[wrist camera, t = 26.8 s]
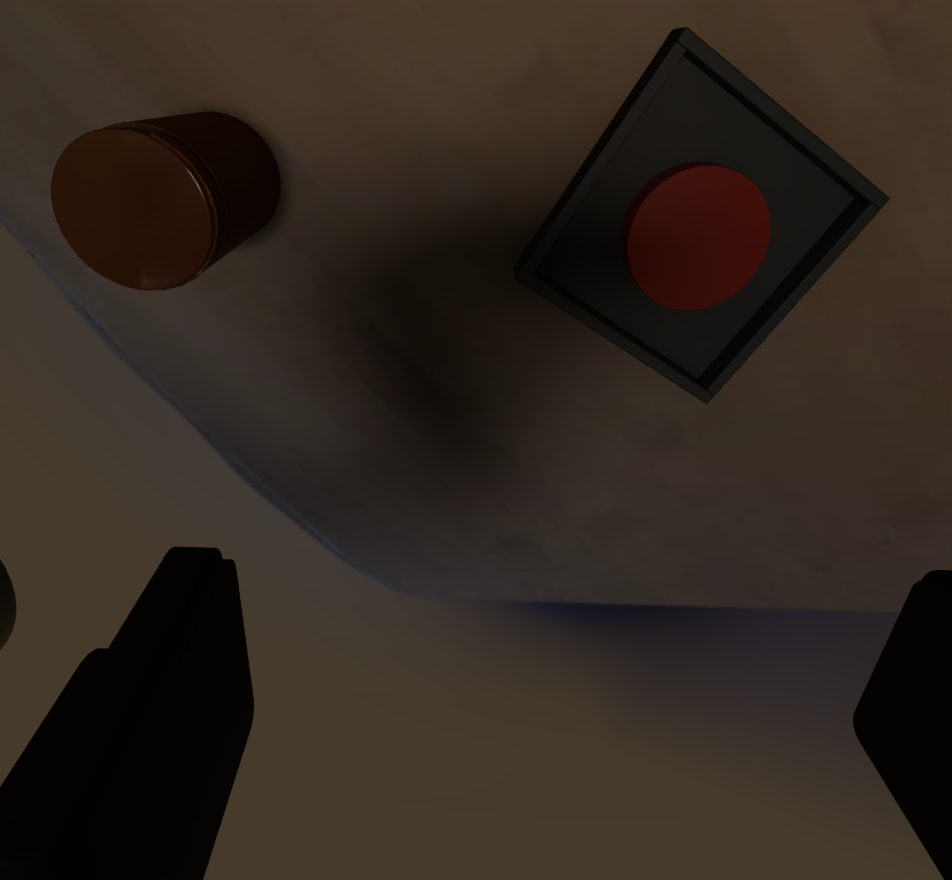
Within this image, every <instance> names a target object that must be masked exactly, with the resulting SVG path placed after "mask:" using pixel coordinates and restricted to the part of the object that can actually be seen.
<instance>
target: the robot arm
mask: <svg viewBox="0 0 952 880" xmlns="http://www.w3.org/2000/svg"><path fill="white" fill-rule="evenodd" d="M253 714H254V697H253V691H252V683H251V675H250V668H249V660H248V653H247V646H246V638H245V630H244V623H243V615H242V608H241V600H240V593H239V585H238V578H237V571H236V566H235V562H234V561H233V560H231V559H222V554H221V552H220V550H219V549H217V548H203V547H173V548H171V549H170V550H169V551H168V552H167V553H166V555H165V557H164V558H163V560H162V562H161V563H160V565H159V566H158V568H157V570H156V572H155V573H154V575H153V576H152V578H151V579H150V581H149V583H148V584H147V586H146V588H145V589H144V591H143V593H142V594H141V596H140V597H139V599H138V601H137V602H136V604H135V605H134V607H133V609H132V610H131V612H130V614H129V615H128V617H127V619H126V620H125V622H124V623H123V625H122V627H121V628H120V630H119V632H118V633H117V635H116V636H115V638H114V640H113V641H112V643H111V645H110V646H109V648H108V649H107V648H105V649H104V648H102V649H101V648H98V649H95V650H93V651H92V652H90V653H89V654H88V655H87V656H86V657H85V658H84V660H83V661H82V662H81V663H80V665H79V666H78V668H77V669H76V671H75V672H74V674H73V675H72V677H71V678H70V680H69V682H68V683H67V685H66V686H65V688H64V689H63V691H62V693H61V694H60V695H59V697H58V699H57V700H56V702H55V703H54V705H53V706H52V708H51V709H50V711H49V712H48V714H47V716H46V717H45V719H44V720H43V722H42V723H41V725H40V726H39V728H38V729H37V731H36V732H35V734H34V736H33V737H32V739H31V740H30V742H29V743H28V745H27V746H26V748H25V750H24V751H23V753H22V754H21V756H20V757H19V759H18V760H17V762H16V763H15V765H14V766H13V768H12V770H11V771H10V773H9V774H8V776H7V777H6V779H5V780H4V782H3V784H2V785H1V787H0V880H203V878H204V875H205V872H206V869H207V866H208V862H209V859H210V856H211V853H212V850H213V847H214V844H215V840H216V837H217V834H218V831H219V828H220V825H221V822H222V818H223V815H224V812H225V809H226V806H227V803H228V799H229V796H230V793H231V790H232V787H233V784H234V780H235V777H236V774H237V771H238V768H239V765H240V761H241V758H242V755H243V752H244V749H245V746H246V743H247V739H248V736H249V733H250V730H251V726H252V721H253ZM853 723H854V730H855V733H856V736H857V738H858V740H859V742H860V743H861V745H862V747H863V748H864V750H865V752H866V753H867V755H868V756H869V758H870V760H871V761H872V763H873V765H874V766H875V768H876V769H877V771H878V773H879V774H880V776H881V778H882V779H883V781H884V782H885V784H886V786H887V787H888V789H889V791H890V792H891V794H892V795H893V797H894V798H895V800H896V802H897V804H898V805H899V807H900V808H901V810H902V812H903V813H904V815H905V817H906V818H907V820H908V821H909V823H910V825H911V826H912V828H913V829H914V831H915V833H916V834H917V836H918V838H919V839H920V841H921V843H922V844H923V846H924V847H925V849H926V851H927V852H928V854H929V856H930V857H931V859H932V860H933V862H934V864H935V865H936V867H937V869H938V870H939V872H940V873H941V875H942V877H943V878H944V880H952V570H935V571H930V572H929V573H927V574H926V575H925V576H924V577H923V579H922V580H921V581H918V582H916V583H915V584H914V585H913V587H912V588H911V591H910V593H909V595H908V597H907V599H906V601H905V604H904V606H903V608H902V610H901V612H900V614H899V617H898V619H897V621H896V623H895V625H894V628H893V630H892V632H891V634H890V636H889V638H888V640H887V643H886V645H885V647H884V649H883V651H882V653H881V655H880V658H879V660H878V662H877V664H876V667H875V668H874V671H873V673H872V675H871V677H870V679H869V681H868V684H867V686H866V688H865V690H864V692H863V695H862V697H861V699H860V701H859V703H858V705H857V707H856V710H855V713H854V718H853Z"/></svg>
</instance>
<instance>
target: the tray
mask: <svg viewBox="0 0 952 880" xmlns="http://www.w3.org/2000/svg"><path fill="white" fill-rule="evenodd" d="M689 162H711V163H715V164H719V165H722V166H725V167H728V168H731V169H733V170H735V171H738V172H740V173H742V174H745V175H747V178H749V179H750V180H751V181H752V182H753V183H754V184H755V185H756V186H757V188H758V189H759V190H760V192H761V193H762V195H763V197H764V199H765V201H766V204H767V207H768V211H769V215H770V237H769V243H768V247H767V250H766V253H765V256H764V258H763V260H762V262H761V264H760V266H759V268H758V269H757V271H756V272H755V274H754V275H753V276H752V278H751V279H750V280H749V281H748V282H747V283H746V284H745V286H744V287H742V288H741V289H740V290H739V291H738V292H737V293H735V294H734V295H732V296H731V297H729V298H728V299H726V300H724V301H722V302H720V303H718V304H716V305H713V306H710V307H707V308H703V309H697V310H679V309H673V308H669V307H666V306H664V305H661V304H659V303H657V302H656V301H654V300H652V299H651V298H650V297H648V296H647V295H646V294H645V293H644V292H643V291H642V290H641V289H640V287H639V286H638V285H637V284H636V282H635V281H634V280H633V278H632V277H631V276H630V274H629V272H628V270H627V268H626V266H625V263H624V260H623V257H622V251H621V232H622V227H623V222H624V219H625V216H626V213H627V211H628V209H629V207H630V205H631V203H632V202H633V200H634V199H635V197H636V196H637V194H638V193H639V192H640V191H641V189H642V188H643V187H644V186H645V185H646V184H647V183H648V182H649V181H651V180H652V179H653V178H654V177H656V176H657V175H659V174H660V173H662V172H664V171H665V170H667V169H669V168H672V167H674V166H677V165H680V164H684V163H689ZM889 199H890V198H889V197H888V196H887V195H886V194H884V193H883V192H882V191H881V190H880V189H878V188H877V187H876V186H875V185H874V184H873V183H871V182H870V181H869V180H868V179H867V178H865V177H864V176H863V175H862V174H861V173H860V172H858V171H857V170H856V169H855V168H854V167H852V166H851V165H850V164H849V163H848V162H846V161H845V160H844V159H843V158H842V157H841V156H839V155H838V154H837V153H836V152H835V151H833V150H832V149H831V148H830V147H829V146H827V145H826V144H825V143H824V142H823V141H822V140H820V139H819V138H818V137H817V136H816V135H814V134H813V133H812V132H811V131H810V130H809V129H807V128H806V127H805V126H804V125H803V124H801V123H800V122H799V121H798V120H797V119H795V118H794V117H793V116H792V115H791V114H790V113H788V112H787V111H786V110H785V109H784V108H782V107H781V106H780V105H779V104H778V103H776V102H775V101H774V100H773V99H772V98H771V97H769V96H768V95H767V94H766V93H765V92H763V91H762V90H761V89H760V88H759V87H758V86H756V85H755V84H754V83H753V82H752V81H750V80H749V79H748V78H747V77H746V76H744V75H743V74H742V73H741V72H740V71H739V70H737V69H736V68H735V67H734V66H733V65H731V64H730V63H729V62H728V61H727V60H726V59H724V58H723V57H722V56H721V55H720V54H718V53H717V52H716V51H715V50H714V49H712V48H711V47H710V46H709V45H708V44H707V43H705V42H704V41H703V40H702V39H701V38H699V37H698V36H697V35H696V34H695V33H693V32H692V31H691V30H690V29H689V28H688V27H684V28H679V29H674V30H672V32H671V33H670V35H669V36H668V38H667V39H666V41H665V42H664V44H663V45H662V47H661V48H660V50H659V51H658V53H657V54H656V56H655V57H654V59H653V60H652V62H651V63H650V65H649V66H648V68H647V69H646V71H645V72H644V74H643V75H642V77H641V78H640V80H639V81H638V83H637V84H636V86H635V87H634V89H633V90H632V92H631V93H630V94H629V96H628V97H627V99H626V100H625V102H624V103H623V105H622V106H621V108H620V109H619V111H618V112H617V114H616V115H615V117H614V118H613V120H612V121H611V123H610V124H609V126H608V127H607V129H606V130H605V132H604V133H603V135H602V136H601V138H600V139H599V141H598V142H597V144H596V145H595V147H594V148H593V150H592V151H591V153H590V154H589V156H588V157H587V159H586V160H585V162H584V163H583V164H582V166H581V167H580V169H579V170H578V172H577V173H576V175H575V176H574V178H573V179H572V181H571V182H570V184H569V185H568V187H567V188H566V190H565V191H564V193H563V194H562V196H561V197H560V199H559V200H558V202H557V203H556V205H555V206H554V208H553V209H552V211H551V212H550V214H549V215H548V217H547V218H546V220H545V221H544V223H543V224H542V226H541V227H540V229H539V230H538V232H537V233H536V235H535V236H534V237H533V239H532V240H531V242H530V243H529V245H528V246H527V248H526V249H525V251H524V252H523V254H522V255H521V257H520V258H519V260H518V261H517V263H516V264H515V266H514V267H513V271H514V275H515V279H516V280H517V281H519V282H520V283H522V284H523V285H525V286H526V287H528V288H529V289H531V290H532V291H534V292H536V293H537V294H539V295H540V296H542V297H543V298H545V299H546V300H548V301H549V302H551V303H552V304H554V305H555V306H557V307H559V308H560V309H562V310H563V311H565V312H566V313H568V314H569V315H571V316H572V317H574V318H575V319H577V320H578V321H580V322H582V323H583V324H585V325H586V326H588V327H589V328H591V329H592V330H594V331H595V332H597V333H598V334H600V335H601V336H603V337H605V338H606V339H608V340H609V341H611V342H612V343H614V344H615V345H617V346H618V347H620V348H621V349H623V350H624V351H626V352H628V353H629V354H631V355H632V356H634V357H635V358H637V359H638V360H640V361H641V362H643V363H644V364H646V365H647V366H649V367H651V368H652V369H654V370H655V371H657V372H658V373H660V374H661V375H663V376H664V377H666V378H667V379H669V380H670V381H672V382H674V383H675V384H677V385H678V386H680V387H681V388H683V389H684V390H686V391H687V392H689V393H690V394H692V395H693V396H695V397H696V398H698V399H700V400H701V401H703V402H704V403H706V404H707V403H709V401H710V400H711V399H712V398H713V397H714V395H716V394H717V392H718V391H719V390H720V389H721V388H722V387H723V386H724V385H725V383H726V382H727V381H728V380H729V379H730V378H731V377H732V376H733V374H734V373H735V372H736V371H737V370H738V369H739V368H740V367H741V365H742V364H743V363H744V362H745V361H746V360H747V359H748V358H749V357H750V355H751V354H752V353H753V352H754V351H755V350H756V349H757V348H758V346H759V345H760V344H761V343H762V342H763V341H764V340H765V339H766V337H767V336H768V335H769V334H770V333H771V332H772V331H773V330H774V328H775V327H776V326H777V325H778V324H779V323H780V322H781V321H782V320H783V318H784V317H785V316H786V315H787V314H788V313H789V312H790V311H791V309H792V308H793V307H794V306H795V305H796V304H797V303H798V302H799V300H800V299H801V298H802V297H803V296H804V295H805V294H806V293H807V291H808V290H809V289H810V288H811V287H812V286H813V285H814V284H815V282H816V281H817V280H818V279H819V278H820V277H821V276H822V275H823V274H824V272H825V271H826V270H827V269H828V268H829V267H830V266H831V265H832V263H833V262H834V261H835V260H836V259H837V258H838V257H839V256H840V254H841V253H842V252H843V251H844V250H845V249H846V248H847V247H848V245H849V244H850V243H851V242H852V241H853V240H854V239H855V238H856V236H857V235H858V234H859V233H860V232H861V231H862V230H863V229H864V228H865V226H866V225H867V224H868V223H869V222H870V221H871V220H872V219H873V217H874V216H875V215H876V214H877V213H878V212H879V209H881V208H882V207H883V206H884V205H885V204H886V203H887V202H888V201H889Z"/></svg>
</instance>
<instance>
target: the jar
mask: <svg viewBox="0 0 952 880" xmlns="http://www.w3.org/2000/svg"><path fill="white" fill-rule="evenodd" d="M279 198H280V176H279V171H278V167H277V164H276V161H275V159H274V156H273V154H272V152H271V151H270V149H269V147H268V146H267V144H266V143H265V141H264V140H263V139H262V138H261V137H260V135H259V134H258V133H257V132H256V131H254V130H253V129H252V128H251V127H250V126H248V125H247V124H246V123H244V122H243V121H241V120H239V119H237V118H235V117H233V116H230V115H227V114H224V113H220V112H212V111H209V112H197V113H189V114H182V115H174V116H167V117H160V118H152V119H145V120H137V121H130V122H123V123H117V124H112V125H109V126H106V127H104V128H102V129H98V130H94V131H91V132H88V133H86V134H84V135H82V136H80V137H78V138H77V139H75V140H74V141H73V142H72V143H70V144H69V145H68V147H67V148H66V149H65V150H64V151H63V153H62V154H61V156H60V157H59V159H58V161H57V164H56V166H55V168H54V172H53V176H52V183H51V200H52V206H53V211H54V214H55V218H56V221H57V223H58V225H59V228H60V230H61V232H62V234H63V236H64V237H65V239H66V241H67V242H68V244H69V245H70V246H71V248H72V249H73V251H74V252H75V253H76V254H77V255H78V256H79V257H80V259H82V260H83V261H84V262H85V263H86V264H87V265H88V266H89V267H90V268H92V269H93V270H94V271H96V272H97V273H98V274H100V275H102V276H103V277H105V278H107V279H109V280H111V281H113V282H115V283H117V284H120V285H123V286H126V287H129V288H134V289H139V290H166V289H171V288H175V287H179V286H180V287H181V286H182V285H184V284H186V283H188V282H189V281H191V280H193V279H195V278H197V277H198V276H199V274H200V273H202V272H203V271H205V270H206V269H208V268H209V267H210V266H212V265H213V264H214V263H216V262H217V261H218V260H220V259H221V258H222V257H224V256H225V255H226V254H228V253H229V252H231V251H232V250H233V249H235V248H236V247H237V246H239V245H240V244H241V243H243V242H244V241H245V240H247V239H248V238H250V237H251V236H252V235H254V234H255V233H256V232H258V231H259V230H260V229H262V228H263V227H264V226H265V225H266V224H267V223H268V222H269V220H270V219H271V218H272V216H273V214H274V213H275V210H276V208H277V205H278V202H279Z"/></svg>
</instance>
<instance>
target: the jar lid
mask: <svg viewBox="0 0 952 880" xmlns="http://www.w3.org/2000/svg"><path fill="white" fill-rule="evenodd" d="M769 237H770V215H769V211H768V207H767V204H766V201H765V199H764V197H763V195H762V193H761V192H760V190H759V189H758V188H757V186H756V185H755V184H754V183H753V182H752V181H751V180H750V179H749V178H747V175H745V174H742V173H740V172H738V171H735V170H733V169H731V168H728V167H725V166H722V165H719V164H715V163H711V162H689V163H684V164H680V165H677V166H674V167H672V168H669V169H667V170H665V171H664V172H662V173H660V174H659V175H657V176H656V177H654V178H653V179H652V180H651V181H649V182H648V183H647V184H646V185H645V186H644V187H643V188H642V189H641V191H640V192H639V193H638V194H637V196H636V197H635V199H634V200H633V202H632V203H631V205H630V207H629V209H628V211H627V213H626V216H625V219H624V222H623V227H622V232H621V251H622V257H623V260H624V263H625V266H626V268H627V270H628V272H629V274H630V276H631V277H632V278H633V280H634V281H635V282H636V284H637V285H638V286H639V287H640V289H641V290H642V291H643V292H644V293H645V294H646V295H647V296H648V297H650V298H651V299H652V300H654V301H656V302H657V303H659V304H661V305H664V306H666V307H669V308H673V309H679V310H697V309H703V308H707V307H710V306H713V305H716V304H718V303H720V302H722V301H724V300H726V299H728V298H729V297H731V296H732V295H734V294H735V293H737V292H738V291H739V290H740V289H741V288H742V287H744V286H745V284H746V283H747V282H748V281H749V280H750V279H751V278H752V276H753V275H754V274H755V272H756V271H757V269H758V268H759V266H760V264H761V262H762V260H763V258H764V256H765V253H766V250H767V247H768V243H769Z"/></svg>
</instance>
